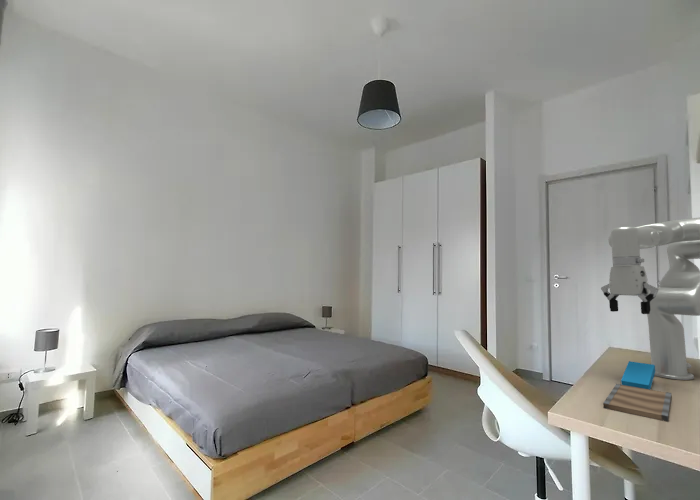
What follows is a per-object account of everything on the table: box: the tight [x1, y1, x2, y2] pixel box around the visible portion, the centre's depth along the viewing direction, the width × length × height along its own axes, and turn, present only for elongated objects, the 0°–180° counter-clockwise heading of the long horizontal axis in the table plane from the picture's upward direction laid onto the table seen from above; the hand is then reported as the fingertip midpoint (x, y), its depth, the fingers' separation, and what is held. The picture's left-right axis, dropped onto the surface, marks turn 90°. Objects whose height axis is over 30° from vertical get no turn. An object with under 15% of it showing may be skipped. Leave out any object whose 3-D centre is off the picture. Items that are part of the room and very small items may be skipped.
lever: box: [620, 360, 655, 390], centre depth 116 cm, size 7×7×18 cm
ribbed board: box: [603, 383, 673, 422], centre depth 98 cm, size 24×13×1 cm, turn 136°
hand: (629, 312), depth 118 cm, fingers open, 9 cm apart
